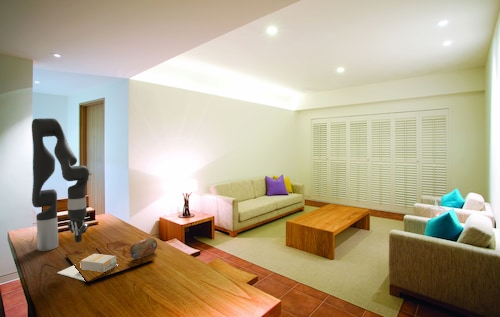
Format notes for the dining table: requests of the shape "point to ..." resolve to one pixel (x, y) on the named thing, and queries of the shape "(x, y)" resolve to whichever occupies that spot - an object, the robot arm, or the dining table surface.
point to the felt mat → (72, 273)
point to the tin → (143, 248)
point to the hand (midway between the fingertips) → (78, 241)
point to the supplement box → (98, 262)
